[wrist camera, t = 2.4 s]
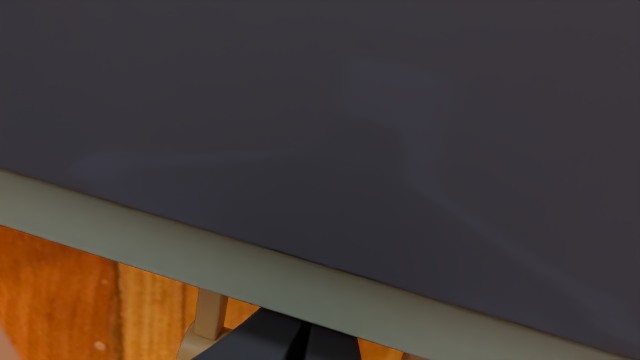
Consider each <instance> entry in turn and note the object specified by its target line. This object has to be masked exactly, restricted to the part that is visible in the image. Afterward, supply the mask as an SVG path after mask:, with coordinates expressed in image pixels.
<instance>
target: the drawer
mask: <svg viewBox="0 0 640 360" xmlns="http://www.w3.org/2000/svg"><path fill="white" fill-rule="evenodd" d="M0 225H2V226H5V227H9V228H12V229H15V230H18V231H21V232H24V233H28V234H31V235H34V236H37V237H40V238H43V239H47V240H50V241H53V242H56V243H59V244H63V245H66V246H69V247H72V248H75V249H78V250H82V251H85V252H88V253H91V254H94V255H97V256H101V257H104V258H107V259H110V260H113V261H117V262H120V263H123V264H126V265H129V266H132V267H136V268H139V269H142V270H145V271H148V272H151V273H155V274H158V275H161V276H164V277H167V278H171V279H174V280H177V281H180V282H183V283H186V284H190V285H193V286H196V287H199V294H198V301H197V309H196V316H195V320H194V321H193V323H192V324H191V325H190V327H189V328H188V330H187V331H186V333H185V335H184V337H183V340H182V342H181V345H180V347H179V351H178V354H177V358H176V360H190V359H192V358H194V357H195V356H197V355H198V354H200V353H201V352H203V351H205V350H206V349H207V348H209V347H210V346H212V345H213V344H215V343H216V342H218V341H219V340H220V339H222V338H223V337H224V336H226V335H227V334H228V333H230V332H231V331H232V329H229V328H226V327H223V326H224V320H225V314H226V308H227V302H228V297H231V298H234V299H237V300H240V301H244V302H247V303H250V304H253V305H256V306H259V307H263V308H266V309H269V310H272V311H275V312H278V313H282V314H285V315H288V316H291V317H294V318H298V319H301V320H304V321H307V322H310V323H313V324H317V325H320V326H323V327H326V328H329V329H332V330H336V331H339V332H342V333H345V334H348V335H352V336H355V337H358V338H361V339H364V340H367V341H371V342H374V343H377V344H380V345H383V346H386V347H390V348H393V349H396V350H399V351H402V352H404V354H403V356H402V359H401V360H634V359H631V358H627V357H624V356H621V355H617V354H614V353H611V352H607V351H604V350H601V349H597V348H594V347H591V346H588V345H584V344H581V343H578V342H574V341H571V340H568V339H564V338H561V337H558V336H554V335H551V334H548V333H544V332H541V331H538V330H535V329H531V328H528V327H525V326H521V325H518V324H515V323H511V322H508V321H505V320H501V319H498V318H495V317H491V316H488V315H485V314H482V313H478V312H475V311H472V310H468V309H465V308H462V307H458V306H455V305H452V304H448V303H445V302H442V301H438V300H435V299H432V298H428V297H425V296H422V295H419V294H415V293H412V292H409V291H405V290H402V289H399V288H395V287H392V286H389V285H385V284H382V283H379V282H375V281H372V280H369V279H366V278H362V277H359V276H356V275H352V274H349V273H346V272H342V271H339V270H336V269H332V268H329V267H326V266H322V265H319V264H316V263H313V262H309V261H306V260H303V259H299V258H296V257H293V256H289V255H286V254H283V253H279V252H276V251H273V250H269V249H266V248H263V247H259V246H256V245H253V244H250V243H246V242H243V241H240V240H236V239H233V238H230V237H226V236H223V235H220V234H216V233H213V232H210V231H206V230H203V229H200V228H197V227H193V226H190V225H187V224H183V223H180V222H177V221H173V220H170V219H167V218H163V217H160V216H157V215H153V214H150V213H147V212H144V211H140V210H137V209H134V208H130V207H127V206H124V205H120V204H117V203H114V202H110V201H107V200H104V199H100V198H97V197H94V196H90V195H87V194H84V193H81V192H77V191H74V190H71V189H67V188H64V187H61V186H57V185H54V184H51V183H47V182H44V181H41V180H37V179H34V178H31V177H28V176H24V175H21V174H18V173H14V172H11V171H8V170H4V169H1V168H0Z"/></svg>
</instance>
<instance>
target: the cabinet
mask: <svg viewBox="0 0 640 360" xmlns="http://www.w3.org/2000/svg"><path fill="white" fill-rule="evenodd" d="M0 168H1V169H4V170H8V171H11V172H14V173H18V174H21V175H24V176H28V177H31V178H34V179H37V180H41V181H44V182H47V183H51V184H54V185H57V186H61V187H64V188H67V189H71V190H74V191H77V192H81V193H84V194H87V195H90V196H94V197H97V198H100V199H104V200H107V201H110V202H114V203H117V204H120V205H124V206H127V207H130V208H134V209H137V210H140V211H144V212H147V213H150V214H153V215H157V216H160V217H163V218H167V219H170V220H173V221H177V222H180V223H183V224H187V225H190V226H193V227H197V228H200V229H203V230H206V231H210V232H213V233H216V234H220V235H223V236H226V237H230V238H233V239H236V240H240V241H243V242H246V243H250V244H253V245H256V246H259V247H263V248H266V249H269V250H273V251H276V252H279V253H283V254H286V255H289V256H293V257H296V258H299V259H303V260H306V261H309V262H313V263H316V264H319V265H322V266H326V267H329V268H332V269H336V270H339V271H342V272H346V273H349V274H352V275H356V276H359V277H362V278H366V279H369V280H372V281H375V282H379V283H382V284H385V285H389V286H392V287H395V288H399V289H402V290H405V291H409V292H412V293H415V294H419V295H422V296H425V297H428V298H432V299H435V300H438V301H442V302H445V303H448V304H452V305H455V306H458V307H462V308H465V309H468V310H472V311H475V312H478V313H482V314H485V315H488V316H491V317H495V318H498V319H501V320H505V321H508V322H511V323H515V324H518V325H521V326H525V327H528V328H531V329H535V330H538V331H541V332H544V333H548V334H551V335H554V336H558V337H561V338H564V339H568V340H571V341H574V342H578V343H581V344H584V345H588V346H591V347H594V348H597V349H601V350H604V351H607V352H611V353H614V354H617V355H621V356H624V357H627V358H631V359H634V360H640V0H0Z"/></svg>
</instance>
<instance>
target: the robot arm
mask: <svg viewBox="0 0 640 360" xmlns="http://www.w3.org/2000/svg"><path fill="white" fill-rule="evenodd" d="M190 360H361V355H360V350H359V345H358V339H357V337H355V336H352V335H348V334H345V333H342V332H339V331H336V330H332V329H329V328H326V327H323V326H320V325H317V324H313V323H310V322H307V321H304V320H301V319H298V318H294V317H291V316H288V315H285V314H282V313H278V312H275V311H272V310H269V309H266V308H263V307H261V308H259V309H258V310H257V311H256V312H255V313H254V314H252V315H251V316H250V317H249V318H248V319H247V320H245V321H244V322H243V323H242V324H240V325H239V326H238V327H236V328H235V329H234V330H232V331H231V332H230V333H228V334H227V335H226V336H224V337H223V338H222V339H220V340H219V341H218V342H216V343H215V344H213V345H212V346H210V347H209V348H207V349H206V350H205V351H203V352H201V353H200V354H198V355H197V356H195V357H194V358H192V359H190Z"/></svg>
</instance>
